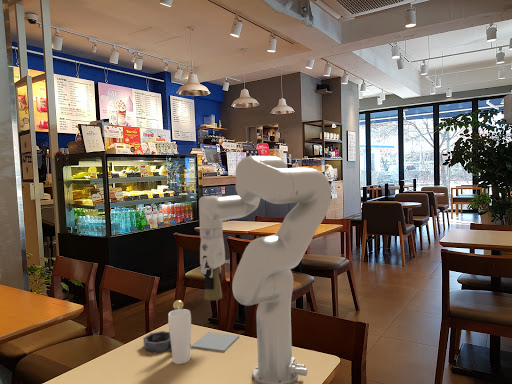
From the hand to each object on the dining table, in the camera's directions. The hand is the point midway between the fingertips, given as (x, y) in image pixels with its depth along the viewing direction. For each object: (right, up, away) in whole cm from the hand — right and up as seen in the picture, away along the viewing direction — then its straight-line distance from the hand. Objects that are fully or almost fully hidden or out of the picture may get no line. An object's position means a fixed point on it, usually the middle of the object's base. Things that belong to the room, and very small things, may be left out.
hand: (213, 286), depth 132 cm
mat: (+1, -19, +1) cm, 19 cm away
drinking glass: (-8, -20, -12) cm, 25 cm away
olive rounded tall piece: (0, -4, 0) cm, 4 cm away
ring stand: (-15, -20, -2) cm, 25 cm away
